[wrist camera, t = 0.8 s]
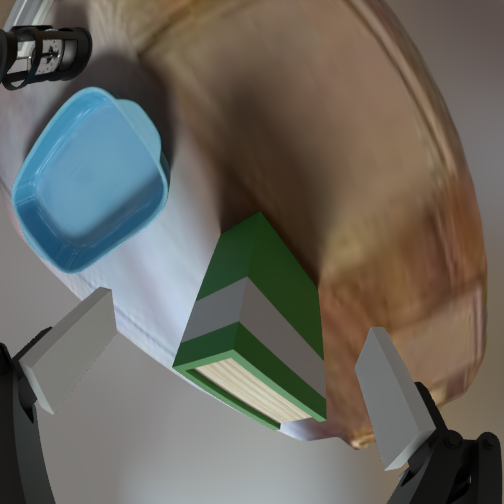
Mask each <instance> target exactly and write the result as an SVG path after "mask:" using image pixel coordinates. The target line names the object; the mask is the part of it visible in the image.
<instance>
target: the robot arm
mask: <svg viewBox="0 0 504 504" xmlns="http://www.w3.org/2000/svg"><path fill="white" fill-rule="evenodd" d="M116 334H117V328H116V321H115V314H114V307H113V299H112V290H111V289H107V288H103V287H99V288H98V289H96V290H95V291H94V292H93V293H92V294H90V295H89V296H88V297H87V298H86V299H85V300H83V301H82V302H81V303H80V304H79V305H78V306H77V307H76V308H74V309H73V310H72V311H71V312H70V313H69V314H68V315H66V316H65V317H64V318H63V319H62V320H61V321H60V322H59V323H57V325H55V326H54V327H49V328H46V329H44V330H42V331H41V332H40V333H39V334H38V335H37V336H35V338H33V339H32V340H31V341H30V343H28V344H27V345H26V346H25V347H24V348H23V349H22V350H21V351H20V352H18V354H16V355H15V356H14V357H13V358H12V359H11V357H10V354H9V352H8V350H7V347H6V346H5V344H3V343H0V504H55V500H54V497H53V494H52V490H51V487H50V483H49V479H48V475H47V471H46V467H45V463H44V458H43V453H42V448H41V443H40V436H39V429H38V421H37V412H36V407H35V405H34V403H35V402H36V400H38V401H39V403H40V405H41V407H42V408H43V409H44V410H46V411H48V412H50V413H52V414H53V415H55V414H56V413H57V412H58V410H59V409H60V407H61V406H62V405H63V403H64V402H65V400H66V399H67V398H68V396H69V395H70V394H71V392H72V391H73V389H74V388H75V387H76V385H77V384H78V383H79V381H80V380H81V379H82V377H83V376H84V375H85V374H86V372H87V371H88V370H89V368H90V367H91V366H92V364H93V363H94V362H95V360H96V359H97V358H98V357H99V355H100V354H101V353H102V351H103V350H104V349H105V348H106V346H107V345H108V344H109V343H110V341H111V340H112V339H113V338H114V336H115V335H116ZM355 372H356V375H357V378H358V381H359V384H360V387H361V390H362V394H363V397H364V400H365V403H366V407H367V410H368V414H369V417H370V420H371V424H372V427H373V431H374V435H375V438H376V442H377V446H378V449H379V453H380V457H381V461H382V465H383V469H384V471H386V470H391V469H397V468H400V467H401V466H402V465H403V464H404V463H405V462H406V461H408V464H409V467H408V468H407V469H406V470H405V471H404V472H403V473H402V474H401V475H400V476H399V477H398V478H397V480H399V479H400V478H401V480H400V482H399V484H398V486H397V487H396V489H395V491H394V493H393V494H392V496H391V498H390V499H389V501H388V502H387V504H502V461H501V447H500V442H499V439H498V438H497V436H496V435H494V434H493V433H491V432H484V433H482V434H481V435H480V436H479V437H478V438H477V439H476V440H466V439H463V437H462V436H461V435H460V434H459V433H458V432H456V431H453V430H448V429H447V427H446V425H445V422H444V420H443V418H442V416H441V414H440V412H439V410H438V408H437V406H435V402H434V400H433V399H432V397H431V395H430V393H429V391H428V389H427V388H426V387H425V386H424V385H423V384H422V383H421V382H414V381H413V379H412V378H411V376H410V374H409V372H408V370H407V368H406V366H405V364H404V362H403V360H402V359H401V357H400V355H399V353H398V351H397V349H396V348H395V346H394V344H393V342H392V340H391V339H390V337H389V335H388V333H387V332H386V330H385V328H384V327H371V328H370V331H369V333H368V336H367V338H366V341H365V344H364V346H363V349H362V351H361V354H360V356H359V359H358V361H357V363H356V366H355ZM470 478H471V483H470Z"/></svg>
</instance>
